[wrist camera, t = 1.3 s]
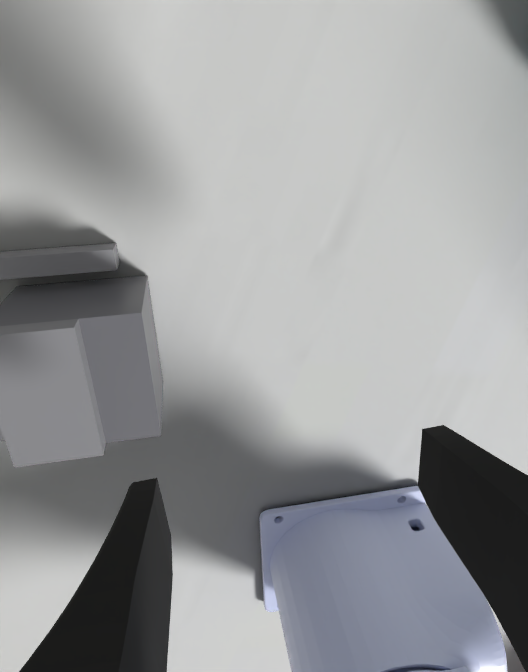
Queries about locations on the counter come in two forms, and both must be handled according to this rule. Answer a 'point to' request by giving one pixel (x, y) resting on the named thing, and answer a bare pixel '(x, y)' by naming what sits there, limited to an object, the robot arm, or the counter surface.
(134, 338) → the grey block on ledge
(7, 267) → the mower deck
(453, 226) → the counter surface
